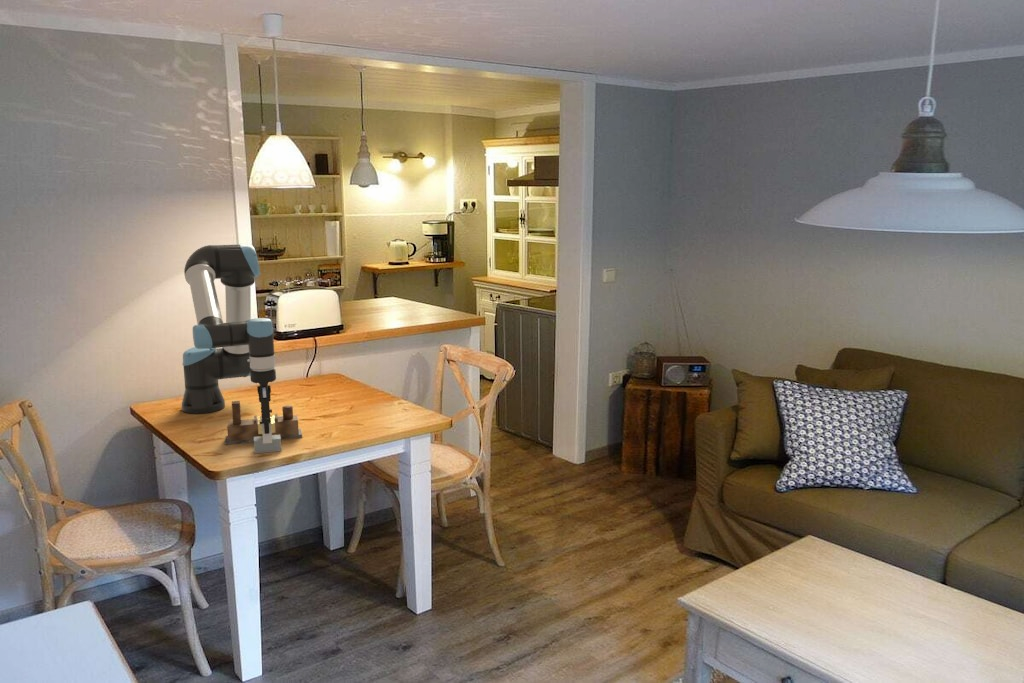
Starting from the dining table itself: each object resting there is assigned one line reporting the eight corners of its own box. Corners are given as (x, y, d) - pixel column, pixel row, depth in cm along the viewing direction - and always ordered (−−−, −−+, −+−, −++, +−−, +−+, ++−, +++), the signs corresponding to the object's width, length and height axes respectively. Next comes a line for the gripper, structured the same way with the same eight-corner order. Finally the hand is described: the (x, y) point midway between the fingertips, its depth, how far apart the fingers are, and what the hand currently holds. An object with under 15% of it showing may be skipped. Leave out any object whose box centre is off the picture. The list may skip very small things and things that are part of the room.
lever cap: (258, 434, 235) (257, 422, 234) (258, 425, 243) (257, 414, 242) (275, 432, 236) (274, 421, 236) (274, 424, 245) (273, 413, 244)
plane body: (225, 444, 246) (222, 406, 243) (225, 438, 252) (222, 400, 249) (302, 437, 253) (300, 399, 251) (300, 431, 259) (298, 394, 256)
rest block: (254, 449, 242) (253, 437, 241) (280, 446, 244) (280, 434, 244) (254, 453, 238) (253, 441, 237) (281, 450, 240) (280, 438, 240)
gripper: (250, 362, 245) (254, 429, 249) (249, 377, 225) (254, 450, 229) (274, 360, 247) (278, 426, 251) (276, 375, 227) (280, 447, 231)
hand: (267, 438), depth 240 cm, fingers closed on lever cap, 9 cm apart
